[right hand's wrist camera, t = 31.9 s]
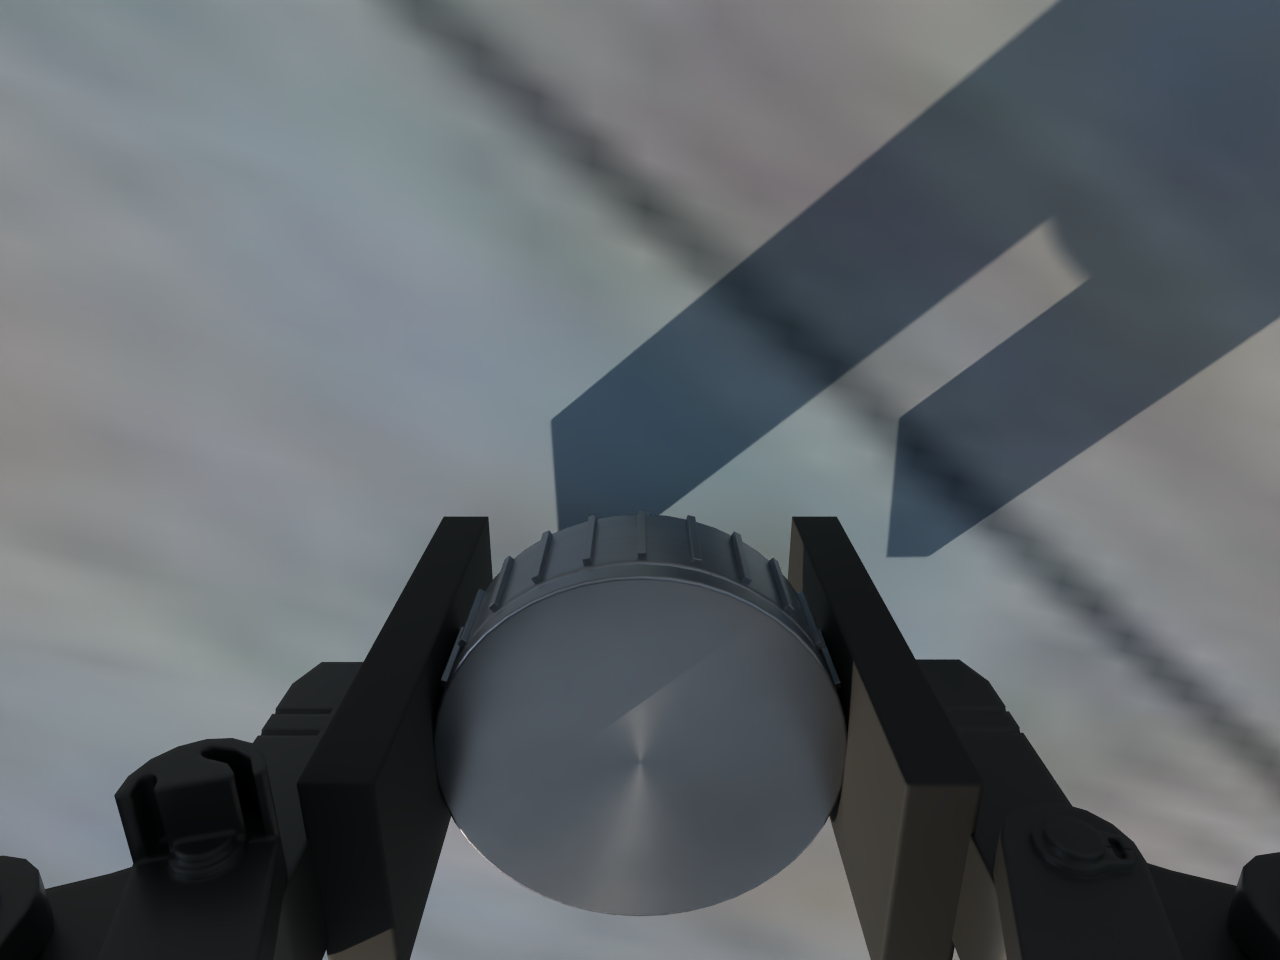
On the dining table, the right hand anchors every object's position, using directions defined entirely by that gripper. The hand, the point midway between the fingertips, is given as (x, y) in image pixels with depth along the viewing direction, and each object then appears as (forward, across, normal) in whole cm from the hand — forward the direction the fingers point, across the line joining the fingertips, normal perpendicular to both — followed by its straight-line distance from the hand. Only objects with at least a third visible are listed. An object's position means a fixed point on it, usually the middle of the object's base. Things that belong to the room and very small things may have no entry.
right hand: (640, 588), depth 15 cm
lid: (-4, 0, 0) cm, 4 cm away
